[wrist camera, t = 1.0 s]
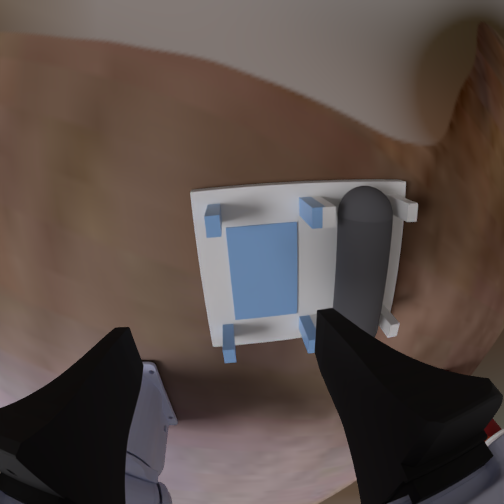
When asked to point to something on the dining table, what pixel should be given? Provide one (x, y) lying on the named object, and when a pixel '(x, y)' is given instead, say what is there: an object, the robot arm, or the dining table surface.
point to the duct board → (280, 257)
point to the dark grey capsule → (362, 256)
